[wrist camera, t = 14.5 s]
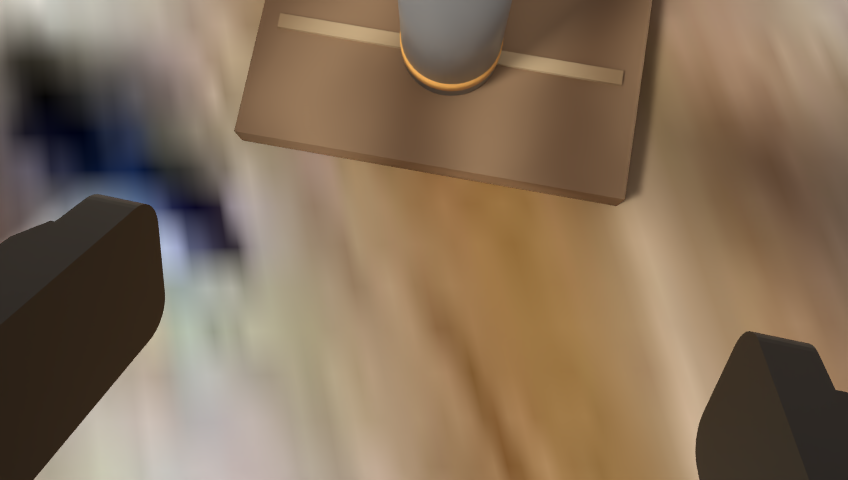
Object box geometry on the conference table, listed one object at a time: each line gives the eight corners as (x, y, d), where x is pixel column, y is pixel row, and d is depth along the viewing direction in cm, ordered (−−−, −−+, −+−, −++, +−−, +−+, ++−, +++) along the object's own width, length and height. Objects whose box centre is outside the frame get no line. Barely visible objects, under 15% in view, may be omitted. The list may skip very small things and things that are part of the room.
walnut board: (647, -14, 30) (657, -31, 29) (616, 205, 29) (626, 198, 27) (291, -72, 31) (285, -91, 30) (242, 140, 29) (233, 129, 28)
